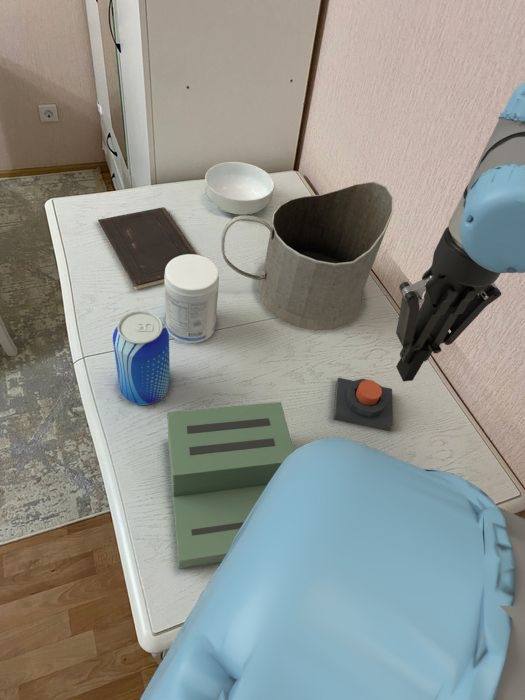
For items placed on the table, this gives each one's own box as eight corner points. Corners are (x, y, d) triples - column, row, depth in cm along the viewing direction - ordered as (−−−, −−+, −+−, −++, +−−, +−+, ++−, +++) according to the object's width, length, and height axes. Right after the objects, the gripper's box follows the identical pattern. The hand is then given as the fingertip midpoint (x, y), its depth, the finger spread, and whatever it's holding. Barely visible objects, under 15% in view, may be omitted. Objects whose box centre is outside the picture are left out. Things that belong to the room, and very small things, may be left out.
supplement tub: (186, 303, 102) (187, 245, 91) (224, 324, 99) (230, 267, 88) (155, 331, 96) (152, 273, 85) (195, 354, 94) (198, 297, 82)
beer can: (147, 417, 84) (142, 356, 71) (109, 392, 86) (98, 328, 74) (179, 385, 89) (180, 323, 76) (143, 362, 91) (138, 298, 79)
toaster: (297, 551, 72) (312, 523, 65) (178, 570, 69) (179, 543, 61) (271, 437, 84) (281, 401, 76) (168, 448, 80) (167, 411, 72)
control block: (388, 433, 88) (396, 419, 84) (331, 422, 88) (338, 407, 84) (387, 397, 93) (395, 382, 90) (334, 386, 93) (340, 371, 90)
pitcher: (376, 329, 104) (421, 230, 85) (226, 341, 97) (238, 235, 78) (342, 257, 118) (373, 158, 99) (208, 262, 111) (215, 156, 92)
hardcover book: (134, 293, 102) (133, 285, 100) (99, 228, 114) (97, 219, 112) (206, 275, 108) (207, 267, 106) (165, 214, 120) (165, 206, 118)
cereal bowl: (218, 229, 119) (220, 204, 114) (194, 190, 128) (195, 165, 123) (281, 219, 125) (286, 194, 120) (254, 182, 134) (257, 158, 129)
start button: (378, 407, 86) (382, 401, 84) (355, 403, 86) (358, 396, 84) (378, 389, 89) (381, 382, 87) (356, 384, 89) (359, 377, 87)
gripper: (512, 218, 58) (433, 350, 76) (412, 218, 55) (353, 356, 73) (548, 260, 54) (455, 390, 71) (441, 262, 51) (371, 398, 68)
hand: (404, 373), depth 72 cm, fingers closed
